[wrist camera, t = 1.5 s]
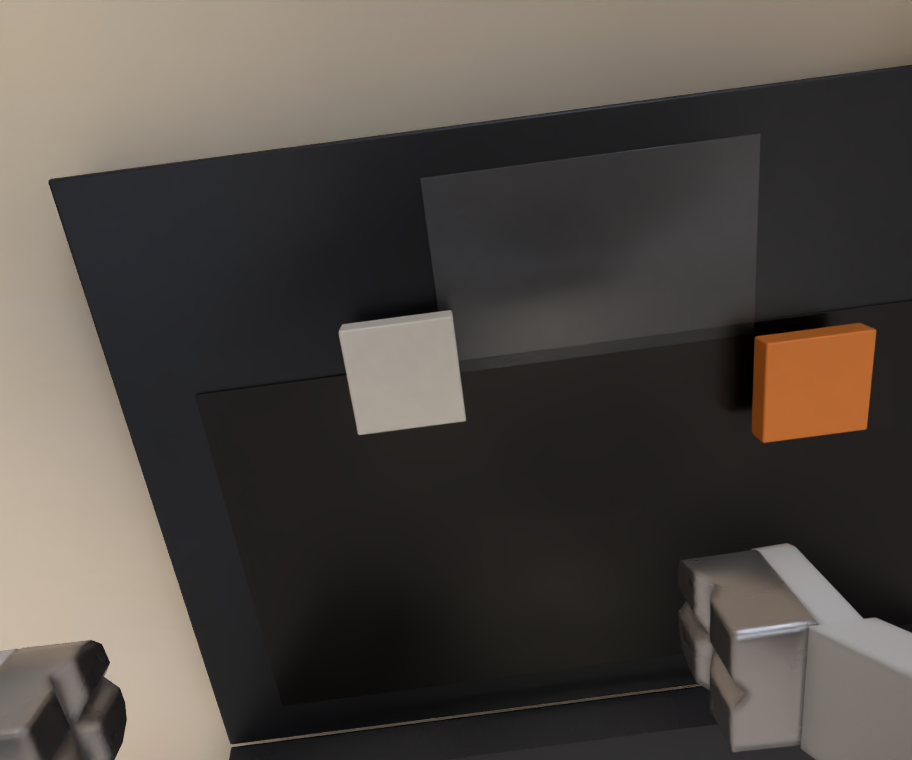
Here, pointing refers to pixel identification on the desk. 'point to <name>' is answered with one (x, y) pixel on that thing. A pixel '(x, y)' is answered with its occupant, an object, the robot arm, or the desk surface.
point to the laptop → (505, 389)
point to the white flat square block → (403, 372)
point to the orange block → (812, 382)
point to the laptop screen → (542, 735)
